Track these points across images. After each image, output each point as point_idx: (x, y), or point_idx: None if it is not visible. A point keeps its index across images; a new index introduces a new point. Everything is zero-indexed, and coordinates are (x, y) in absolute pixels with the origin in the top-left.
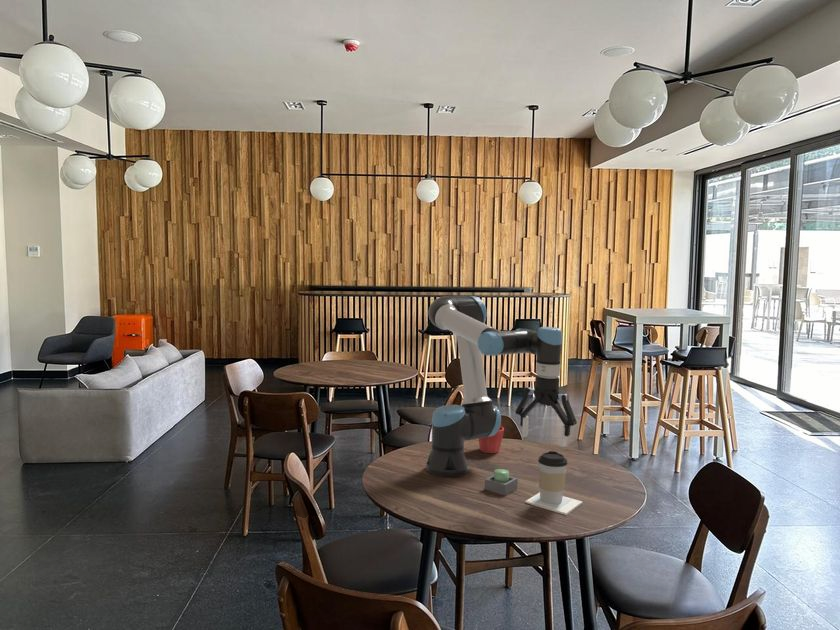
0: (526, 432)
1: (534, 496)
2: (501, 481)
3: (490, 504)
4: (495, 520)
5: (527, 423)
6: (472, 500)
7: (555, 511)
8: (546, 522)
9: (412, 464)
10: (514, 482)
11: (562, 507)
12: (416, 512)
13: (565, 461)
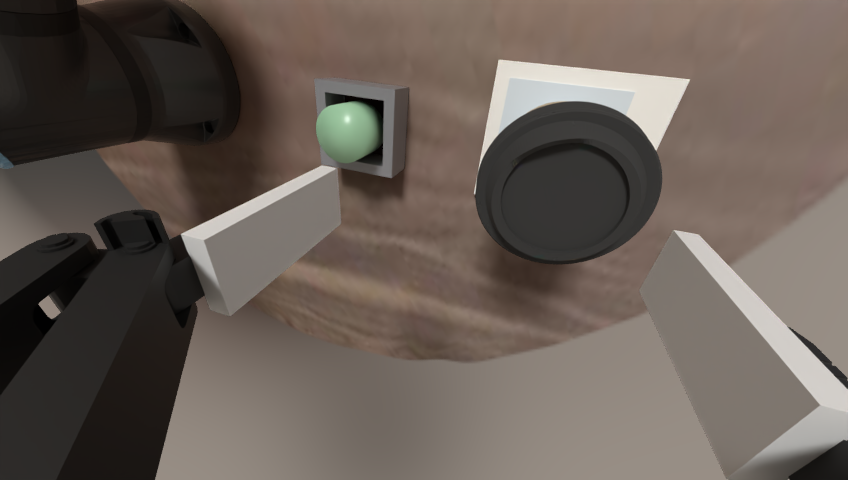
0: (322, 204)
1: (488, 142)
2: (367, 154)
3: (402, 243)
4: (449, 313)
5: (269, 228)
6: (358, 239)
7: None
8: (565, 285)
9: None
10: (397, 113)
11: None
12: (320, 326)
13: (650, 204)
